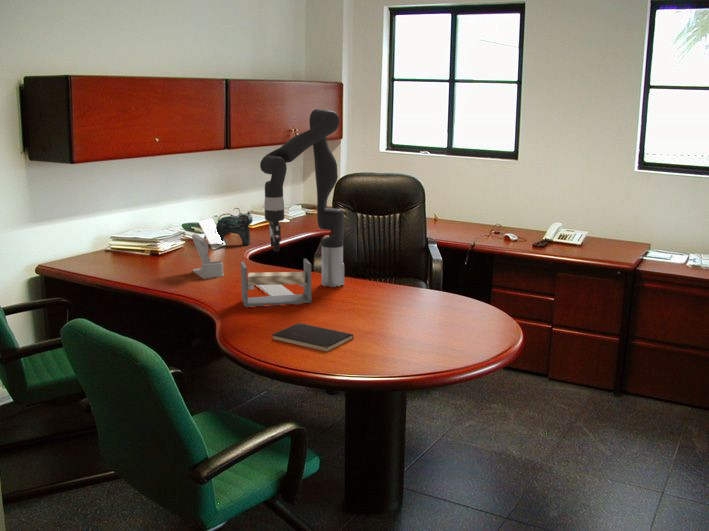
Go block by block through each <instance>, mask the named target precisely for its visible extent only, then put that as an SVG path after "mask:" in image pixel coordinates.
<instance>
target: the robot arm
mask: <svg viewBox="0 0 709 531" xmlns="http://www.w3.org/2000/svg"><path fill="white" fill-rule="evenodd" d="M308 122H309V123H308V124H309V129H308V130H307V131H304V132H301V133H299V134H297V135H295V136H293V137H292V138H289V140H287V141H286V142H285V143H284V144H282V146H280V147H279V148H276V149H274V150H273V151H270V152H269V153H267V154H265V156H263V157H262V159H261V160H260V163H259V166H260V167H259V168H260V170H261V172H262V173H264V174H267V175H271V178H270V180H268V181H266V182H265V183H264V201H263V202H264V204H263V205H264V221H266V222H268V224H269V225H268V227H269V228H268V230H269V231H268V233H269V237H270V247H272V248H273V251H274V252H280V251H281V250H280V249H281V248H280V247H281V246H280V244H281V243H280V242H281V241H282V238H281V233H282V232H281V228H282V227H281V225H280V223H279V222H282V221H284V220H285V200H284V183H285V179H286V174H287V163H291V162H293V161H295V160H296V159H297V158H298V157H299V156H300V155H302V154H303V153H304V152H305V151H306V150H308V149H309V148H310V147H312V149H313V158H314V174H315V184H316V194H317V195H316V199H317V201H316V202H317V203H316V205H317V208H316V209H317V210H316V213H317V214H316V216H317V220H316V221H317V224H318V225H317V226H318V228H319V229H320V230H324V231H333V234H331V235H330V236H327V237H324V238H322V239H321V285H322V286H323V285H324V286H323V287H326V286H330V287H329V288H337V287H336V286H338V287H341V285H343V286H345V263H344V237H345V236H344V231H345V230H344V229H345V213H344V210H343V209H341V208H334V207H332V208H331V207H330V208H329V207H328V206H327V205H328V200H329V199H328V198H329V196H330V194H331V192H332V191H333V189H334V188H335V186H336V184H337V181H338V178H339V176H338V174H339V173H338V163H337V160H336V157H335V156H334V154H333V152H332V150H331V148H330V146H329V143H328V140H327V137H328V136H330V135H332V134H333V133H334V132H336V131H337V129H338V128H339V126H340V117H339V114H338V113H337V112H335V111H334V110H333V111H332V110H329V109H322V108H316V109H313V110H312V111H311V113H310V115H309V121H308Z"/></svg>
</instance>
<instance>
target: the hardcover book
mask: <svg viewBox="0 0 709 531" xmlns="http://www.w3.org/2000/svg"><path fill="white" fill-rule="evenodd" d="M271 336H272V339H273V340H276V341H280V342H285V343H289V344H294V345H299V346H301V347H305V348H312V349H315V350H320V351H324V352H329V351H331V350H333V349H336V348H337V347H338V346H341V345H343V344H344V343H346V342H348V341H350V340H353V339H354V334H353V333H349V332H346V331H345V332H343V331H339V330H334V329H330V328H324V327H320V326H316V325H311V324H306V323H301V322H298V323H295V324H293V325H290V326H289V327H286V328H284V329H281V330H279V331H276V332H273V333H272V334H271Z"/></svg>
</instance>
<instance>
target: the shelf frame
mask: <svg viewBox="0 0 709 531" xmlns="http://www.w3.org/2000/svg"><path fill="white" fill-rule="evenodd" d="M247 267H248V266H247V265H246V263H245V261H241V262H240V276H241V277H240V278H241V280H240V281H241V301H243V302H242V304H243V303H244V304H243V306H245V307H250V306H251V308H253V307H252V306H264V305H280V306H282V305H281V304H295V305H302V304H301V303H310V304H312V303H313V302H312V301H313V300H312V298H313V297H312V263H311V262H310V261H309V260H308V259H307V258H303V272H304V278H305V284H298V285H299V288H301V287H302V288H303V293H301V294H300V293H298V294H295V295H281V296H266V295H265V296H253V297H252V296H251V297H249V294H248V292H249V291H252V290H255V289H256V287H254V285H248V280H247V279H248V268H247ZM245 307H244V308H245Z"/></svg>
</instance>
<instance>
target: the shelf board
mask: <svg viewBox="0 0 709 531" xmlns="http://www.w3.org/2000/svg"><path fill="white" fill-rule="evenodd" d="M247 279H248V280H247V283H248V285H282V286H285V285H299V284H305V278H304V271H281V272H280V271H275V272H274V271H273V272H272V271H271V272H270V271H269V272H248V273H247Z"/></svg>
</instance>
